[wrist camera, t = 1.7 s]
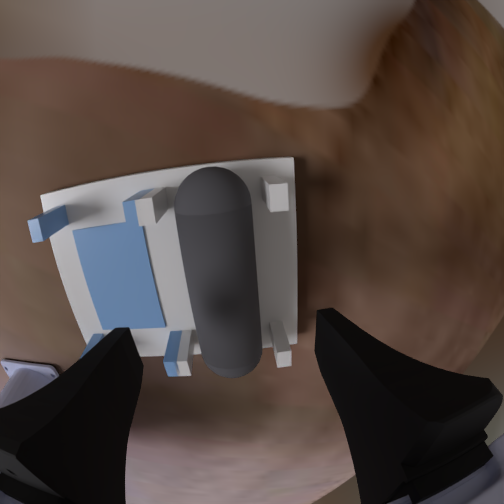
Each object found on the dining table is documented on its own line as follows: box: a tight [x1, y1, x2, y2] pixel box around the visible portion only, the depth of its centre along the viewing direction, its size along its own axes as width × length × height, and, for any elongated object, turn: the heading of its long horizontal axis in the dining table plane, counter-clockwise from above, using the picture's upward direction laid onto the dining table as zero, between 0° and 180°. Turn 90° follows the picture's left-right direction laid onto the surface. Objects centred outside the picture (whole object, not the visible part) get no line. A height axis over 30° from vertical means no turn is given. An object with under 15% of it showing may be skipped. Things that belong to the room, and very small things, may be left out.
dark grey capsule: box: [174, 166, 262, 378], centre depth 15 cm, size 12×4×4 cm, turn 4°
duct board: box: [28, 157, 297, 377], centre depth 15 cm, size 12×15×4 cm
